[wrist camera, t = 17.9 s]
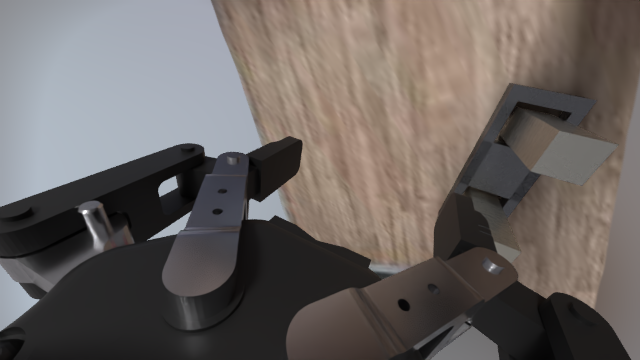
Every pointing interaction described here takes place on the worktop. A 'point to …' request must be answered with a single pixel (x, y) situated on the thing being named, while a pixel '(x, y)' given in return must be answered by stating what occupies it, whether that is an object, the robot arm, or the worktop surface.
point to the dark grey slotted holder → (499, 159)
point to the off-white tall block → (495, 222)
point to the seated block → (555, 145)
